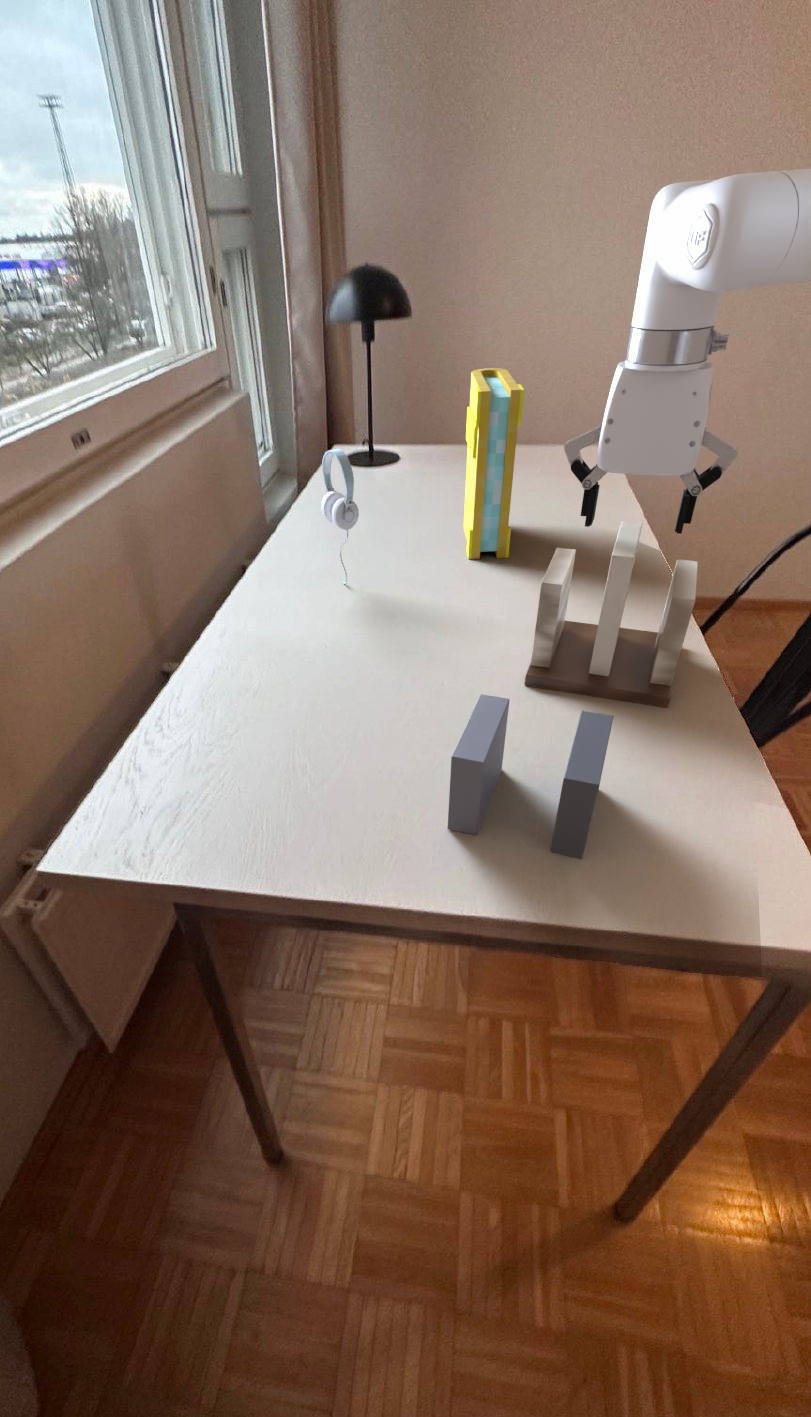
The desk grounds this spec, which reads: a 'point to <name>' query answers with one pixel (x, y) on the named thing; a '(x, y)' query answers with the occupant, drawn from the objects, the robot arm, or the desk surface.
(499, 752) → the grey books
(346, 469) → the headphones
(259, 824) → the desk surface
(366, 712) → the desk surface
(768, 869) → the desk surface
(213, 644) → the desk surface
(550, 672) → the letter rack
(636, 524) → the thin book
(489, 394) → the book
